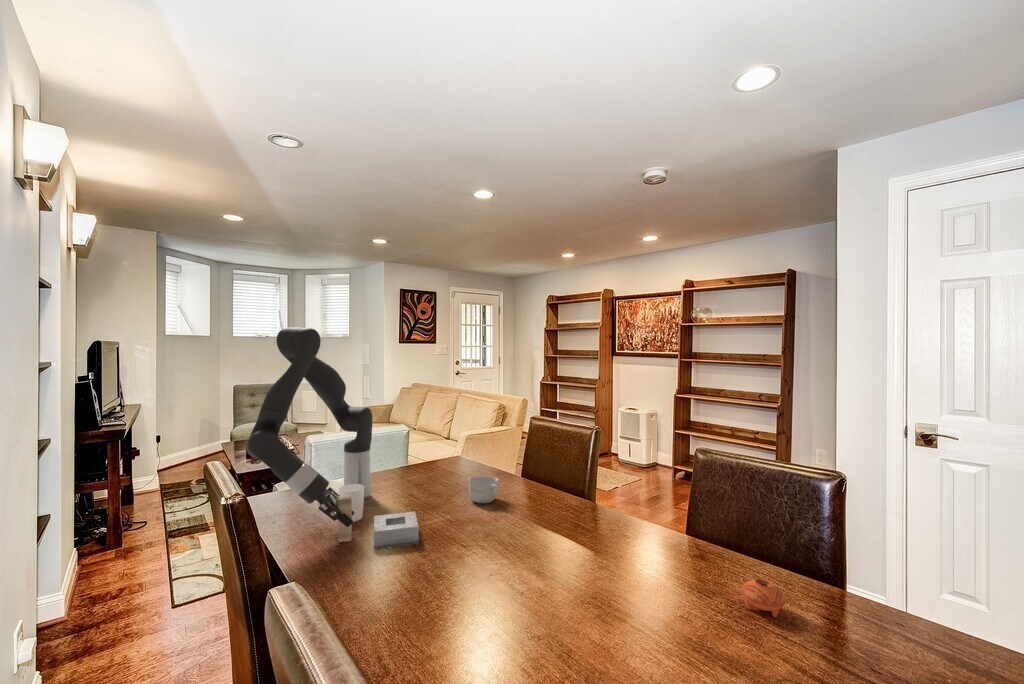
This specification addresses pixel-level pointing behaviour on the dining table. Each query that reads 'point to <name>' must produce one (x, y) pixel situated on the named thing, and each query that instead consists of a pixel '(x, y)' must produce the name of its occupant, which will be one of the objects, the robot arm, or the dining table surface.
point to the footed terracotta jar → (763, 595)
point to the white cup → (354, 498)
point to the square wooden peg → (346, 507)
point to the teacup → (483, 488)
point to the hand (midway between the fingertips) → (351, 519)
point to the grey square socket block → (395, 530)
